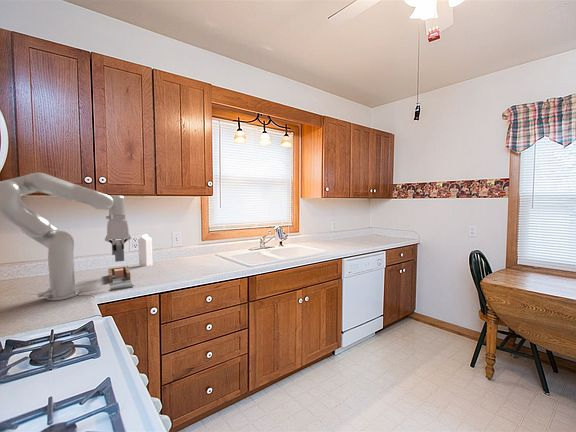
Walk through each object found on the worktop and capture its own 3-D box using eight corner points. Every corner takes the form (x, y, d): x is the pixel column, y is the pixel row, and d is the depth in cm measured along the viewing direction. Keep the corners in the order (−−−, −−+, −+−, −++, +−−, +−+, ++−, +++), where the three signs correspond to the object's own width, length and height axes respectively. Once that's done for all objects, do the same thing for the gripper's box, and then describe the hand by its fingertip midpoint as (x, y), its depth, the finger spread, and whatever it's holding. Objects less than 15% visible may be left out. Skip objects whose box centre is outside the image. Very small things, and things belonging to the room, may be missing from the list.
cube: (123, 277, 166) (123, 269, 165) (114, 278, 163) (114, 271, 163) (123, 275, 169) (122, 268, 169) (114, 276, 167) (114, 269, 166)
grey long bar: (125, 260, 152) (125, 245, 152) (113, 261, 149) (113, 246, 149) (122, 253, 170) (122, 239, 170) (112, 254, 168) (111, 240, 167)
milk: (152, 265, 198) (151, 233, 196) (146, 267, 192) (145, 235, 190) (145, 264, 199) (144, 233, 197) (139, 267, 193) (137, 234, 191)
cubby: (132, 287, 151) (132, 278, 150) (110, 291, 145) (109, 281, 145) (127, 274, 175) (127, 266, 175) (108, 277, 170) (108, 268, 169)
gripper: (99, 219, 148) (101, 254, 150) (134, 217, 157) (135, 251, 158) (99, 218, 154) (101, 251, 156) (133, 217, 163) (134, 248, 165)
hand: (118, 251), depth 157 cm, fingers closed on grey long bar
